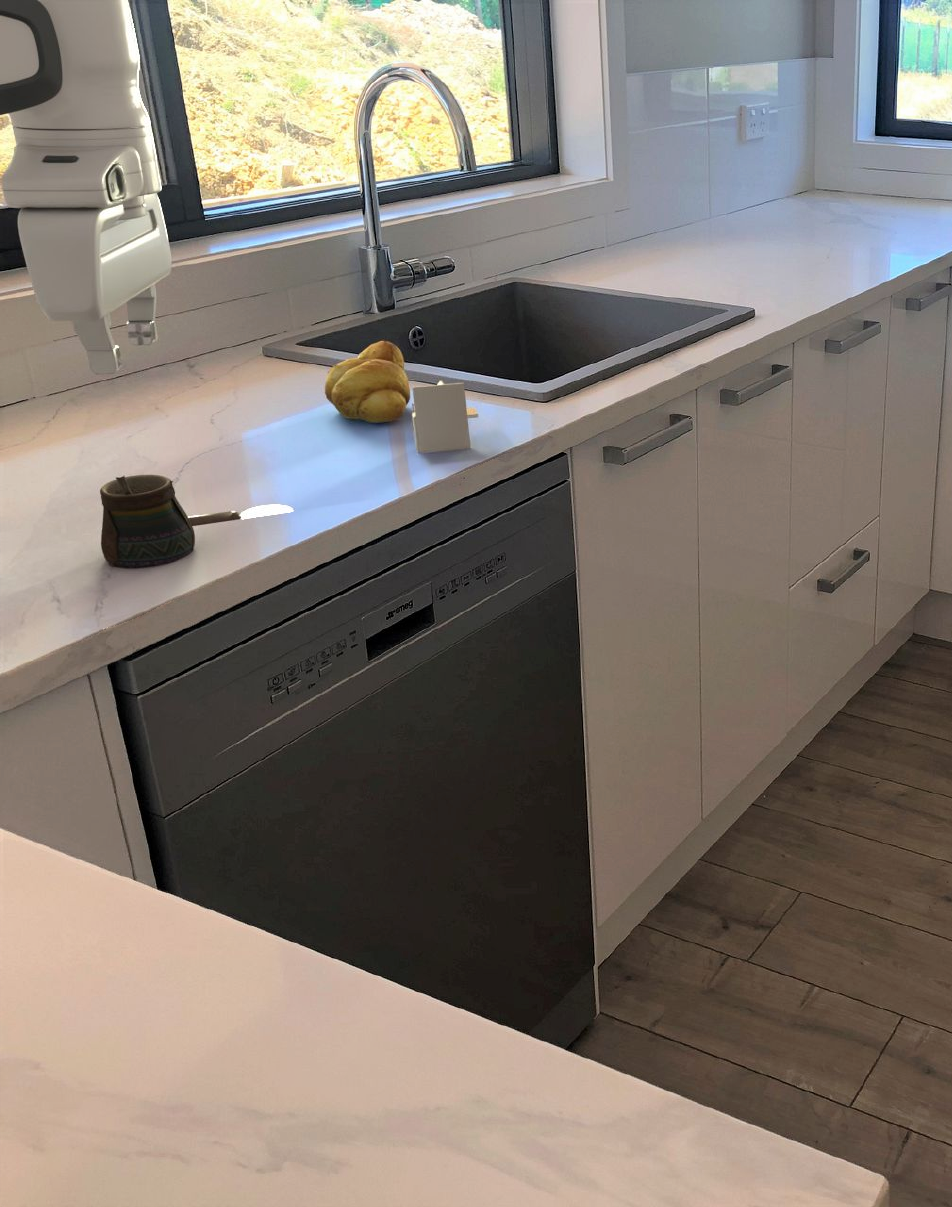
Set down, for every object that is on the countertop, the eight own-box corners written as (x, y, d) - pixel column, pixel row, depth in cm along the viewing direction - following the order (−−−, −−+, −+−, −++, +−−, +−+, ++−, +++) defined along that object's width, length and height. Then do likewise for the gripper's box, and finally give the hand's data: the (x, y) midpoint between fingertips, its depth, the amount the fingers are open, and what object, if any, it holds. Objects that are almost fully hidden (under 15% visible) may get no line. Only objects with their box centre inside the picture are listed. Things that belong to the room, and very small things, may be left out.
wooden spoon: (131, 550, 118) (127, 533, 117) (130, 532, 122) (127, 516, 121) (297, 527, 124) (295, 511, 123) (292, 511, 127) (289, 496, 127)
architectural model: (414, 445, 148) (406, 380, 145) (476, 438, 150) (470, 374, 147) (418, 453, 145) (410, 387, 142) (481, 447, 147) (475, 382, 144)
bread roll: (421, 425, 155) (413, 358, 152) (335, 433, 151) (325, 365, 148) (405, 398, 166) (398, 335, 162) (325, 406, 162) (315, 341, 159)
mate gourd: (200, 551, 118) (179, 444, 114) (201, 582, 111) (179, 469, 107) (111, 563, 115) (86, 453, 111) (106, 595, 109) (80, 480, 105)
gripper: (90, 154, 104) (123, 329, 109) (-11, 183, 85) (34, 391, 91) (175, 155, 105) (203, 328, 110) (93, 184, 86) (131, 389, 92)
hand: (126, 357), depth 101 cm, fingers open, 8 cm apart
